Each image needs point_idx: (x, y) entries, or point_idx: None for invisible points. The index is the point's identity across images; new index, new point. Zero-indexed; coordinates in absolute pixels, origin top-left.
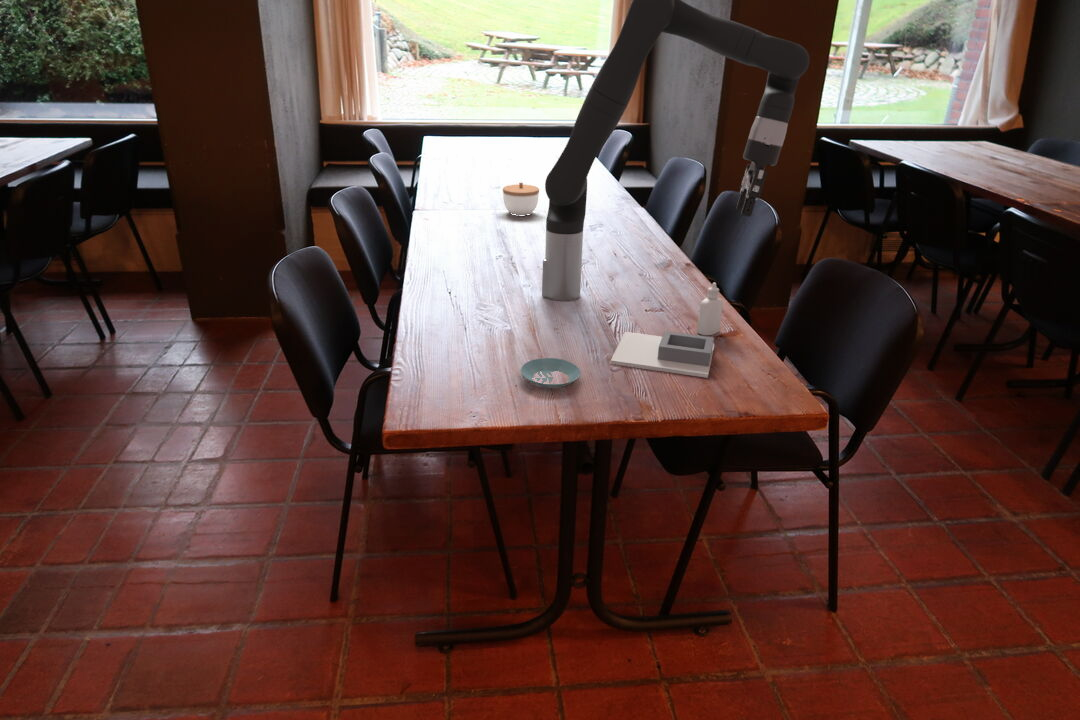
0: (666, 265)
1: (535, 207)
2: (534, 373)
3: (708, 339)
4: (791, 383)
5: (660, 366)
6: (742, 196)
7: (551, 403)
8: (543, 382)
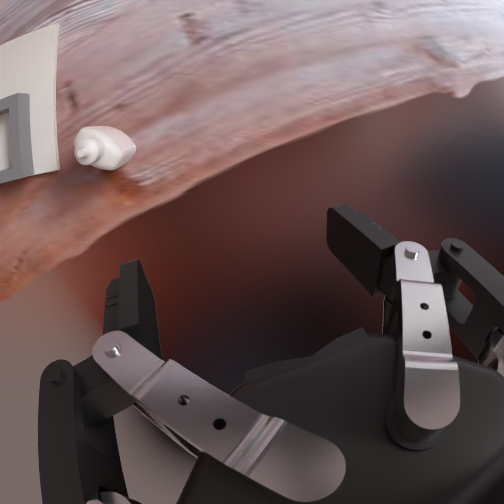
0: (436, 55)
1: None
2: None
3: (13, 171)
4: (15, 287)
5: None
6: (371, 253)
7: None
8: None
